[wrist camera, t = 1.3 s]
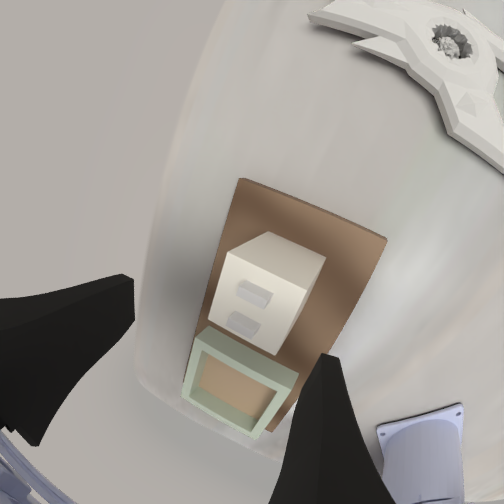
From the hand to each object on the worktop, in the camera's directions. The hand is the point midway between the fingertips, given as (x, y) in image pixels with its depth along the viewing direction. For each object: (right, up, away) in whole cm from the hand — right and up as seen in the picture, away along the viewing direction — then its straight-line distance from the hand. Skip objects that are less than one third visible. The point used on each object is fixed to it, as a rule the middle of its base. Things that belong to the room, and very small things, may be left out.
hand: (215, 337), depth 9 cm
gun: (+14, +15, +2) cm, 21 cm away
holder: (+1, -8, +14) cm, 16 cm away
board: (+2, -3, +11) cm, 12 cm away
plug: (+3, +2, +9) cm, 9 cm away
